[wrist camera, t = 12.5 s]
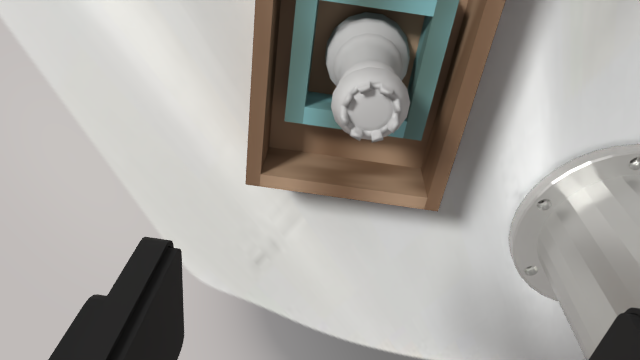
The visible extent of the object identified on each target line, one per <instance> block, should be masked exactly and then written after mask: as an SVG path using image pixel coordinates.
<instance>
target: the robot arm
mask: <svg viewBox="0 0 640 360" xmlns="http://www.w3.org/2000/svg"><path fill="white" fill-rule="evenodd" d="M509 247H510V253H511V256H512V258H513V261H514V264H515V266H516V268H517V271H518V273H519V274H520V276H521V277H522V278H523V279H524V281H525V282H526V283H527V284H528V285H529V286H530V287H531V288H533V289H534V290H536V291H537V292H539V293H540V294H542V295H544V296H546V297H549V298H551V299H553V300H556V301H559V303H560V305H561V308H562V310H563V312H564V314H565V316H566V318H567V320H568V322H569V324H570V326H571V329H572V331H573V333H574V335H575V337H576V339H577V341H578V343H579V345H580V348H581V350H582V352H583V354H584V356H585V358H586V360H640V144H635V145H622V146H614V147H610V148H606V149H601V150H597V151H594V152H591V153H588V154H586V155H583V156H581V157H578V158H575V159H573V160H571V161H570V162H568V163H566V164H564V165H563V166H561V167H559V168H557V169H555V170H554V171H553V172H551V173H550V174H549V175H548V176H546V177H545V178H544V179H542V180H541V181H540V182H539V183H538V184H537V185H536V186H535V187H534V188H533V189H532V190H531V191H530V192H529V193H528V194H527V195H526V197H525V198H524V200H523V201H522V203H521V204H520V206H519V207H518V209H517V211H516V213H515V216H514V218H513V221H512V223H511V227H510V233H509ZM183 339H184V317H183V287H182V255H181V250H180V249H177V248H174V247H173V242H172V241H170V240H164V239H157V238H149V237H144V238H142V240H141V241H140V243H139V244H138V246H137V247H136V249H135V251H134V252H133V254H132V256H131V257H130V259H129V261H128V262H127V264H126V266H125V267H124V269H123V271H122V272H121V274H120V276H119V277H118V279H117V281H116V282H115V284H114V285H113V287H112V289H111V291H110V292H109V294H108V295H107V296H103V295H93V296H91V297H90V298H89V299H88V300H87V301H86V303H85V304H84V305H83V307H82V309H81V310H80V312H79V313H78V315H77V316H76V318H75V319H74V321H73V322H72V324H71V326H70V327H69V329H68V330H67V332H66V333H65V335H64V336H63V338H62V339H61V341H60V343H59V344H58V346H57V347H56V349H55V350H54V352H53V353H52V355H51V356H50V358H49V360H177V359H178V356H179V354H180V351H181V348H182V344H183Z"/></svg>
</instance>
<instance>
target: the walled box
mask: <svg viewBox="0 0 640 360" xmlns="http://www.w3.org/2000/svg"><path fill="white" fill-rule="evenodd" d="M505 1H506V0H255V19H254V38H253V56H252V75H251V93H250V112H249V131H248V149H247V168H246V184H247V185H254V186H261V187H268V188H276V189H283V190H290V191H297V192H304V193H311V194H318V195H325V196H332V197H340V198H347V199H354V200H361V201H368V202H375V203H382V204H389V205H397V206H404V207H411V208H418V209H425V210H432V211H438V209H439V206H440V203H441V200H442V197H443V194H444V191H445V188H446V184H447V181H448V178H449V175H450V172H451V169H452V166H453V163H454V160H455V156H456V153H457V150H458V147H459V144H460V141H461V138H462V135H463V132H464V128H465V125H466V122H467V119H468V116H469V113H470V110H471V107H472V104H473V101H474V97H475V94H476V91H477V88H478V85H479V82H480V79H481V76H482V73H483V69H484V66H485V63H486V60H487V57H488V54H489V51H490V48H491V45H492V41H493V38H494V35H495V32H496V29H497V26H498V23H499V20H500V17H501V13H502V10H503V7H504V4H505ZM364 12H368V13H376V14H383V15H384V16H386V17H388V18H389V19H391V20H393V21H394V22H396V23H397V24H398V25H399V27H400V28H401V29H402V31H403V32H404V34H405V35H406V37H407V42H408V47H409V52H410V53H409V56H410V60H409V64H408V69H407V74H406V75H405V77H404V78H403V80H402V82H403V84H404V85H405V86H406V88H407V90H408V95H409V100H410V106H409V110H408V114H407V117H406V119H405V120H404V122H403V123H402V124H401V126H400V127H399V129H397V130H396V131H395V132H394V134H393V133H391V134H389V135H388V136H386V137H383V140H382V141H377V142H373V143H372V140H367V139H361V140H360V141H359V140H357V139H355V138H353V137H351V136H350V134H348V133H346V132H344V131H343V130H342V128H341V127H340V126H339V125H338V124H337V122H336V121H335V119H334V116H333V112H332V109H331V103H332V96H333V92H334V90H335V89H336V85H335V84H334V83H333V82H332V80H331V79H330V77H329V73H328V70H327V66H326V59H325V55H326V47H327V41H328V39H329V38H330V36H331V34H332V32H333V31H334V29H335V27H336V26H338V25H339V24H340V23H342V22H343V21H344V20H345V19H347V18H348V17H350V16H354V15H357V14H361V13H364Z"/></svg>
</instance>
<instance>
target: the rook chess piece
mask: <svg viewBox="0 0 640 360" xmlns="http://www.w3.org/2000/svg"><path fill="white" fill-rule="evenodd" d="M409 53H410V52H409V47H408V42H407V37H406V35H405V34H404V32H403V31H402V29H401V28H400V27H399V25H398V24H397V23H396V22H394V21H393V20H391V19H389V18H388V17H386V16H384V15H383V14H376V13H368V12H364V13H361V14H357V15H354V16H350V17H348V18H347V19H345V20H344V21H343V22H342V23H340V24H339V25H338V26H336V27H335V29H334V31H333V32H332V34H331V36H330V38H329V39H328V41H327V47H326V55H325V59H326V66H327V70H328V73H329V77H330V79H331V80H332V82H333V83H334V84H335V85H336V89H335V90H334V92H333V96H332V103H331V109H332V112H333V116H334V119H335V121H336V122H337V124H338V125H339V126H340V127H341V128H342V130H343V131H344V132H346V133H348V134H350V136H351V137H353V138H355V139H357V140H359V141H360V140H361V139H367V140H372V143H373V142H377V141H382V140H383V137H386V136H388V135H389V134H391V133H393V134H394V132H395V131H396V130H397V129H399V127H400V126H401V124H402V123H403V122H404V120H405V119H406V117H407V114H408V110H409V106H410V100H409V95H408V90H407V88H406V86H405V85H404V84H403V82H402V80H403V78H404V77H405V75H406V74H407V69H408V64H409V60H410V56H409Z"/></svg>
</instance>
